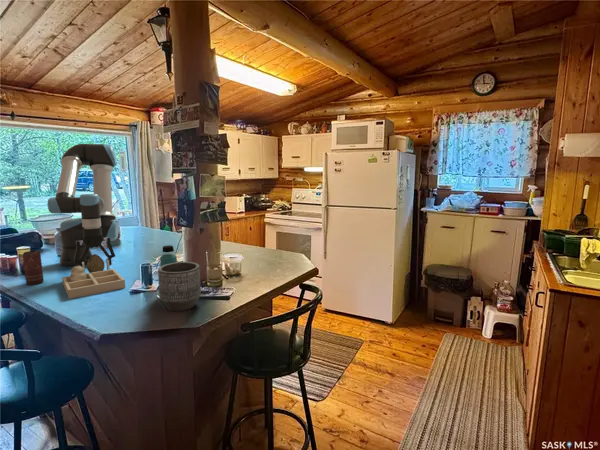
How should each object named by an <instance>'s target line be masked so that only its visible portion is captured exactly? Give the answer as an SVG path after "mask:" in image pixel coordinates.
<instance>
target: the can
mask: <svg viewBox="0 0 600 450" xmlns="http://www.w3.org/2000/svg"><path fill="white" fill-rule="evenodd" d="M22 260H23V269H24V275H25V276H24V277H25V283H26V285H28V286H37V285H41V284H43V283H44V274H43V273H44V271H43V264H42V263H43V262H42V255H41V251H40V250H30V251H24V252H23V253H22Z"/></svg>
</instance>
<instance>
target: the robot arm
mask: <svg viewBox="0 0 600 450" xmlns="http://www.w3.org/2000/svg"><path fill="white" fill-rule="evenodd" d="M60 160H61V161H60V164H61V170H60V171H61V172H60V175H59V179H58V180H59V181H58V183H57V189H56V192H55V197H49V198H48V199H47V209H48V212H49V213H50V214H53V215H55V214H59V215H61V214H80V215H81V217H78V218H72V219H68V220H63V221H62V222H61V223H60V226H59V228H60V229H59V232H60V238H61V249H62V250H61V255H60V259H59V265H60V266H63V267H75V266H81V267H83V268H84V272H85V273H86V268H85V266H86V265H87V262H88V260H89V258H90V257H91V256H92V255H93V253H92V251H91V248H92V249H94V248H100V250H101V251H102V252H103V254H104V255H105V256H106V257H107V258H105V263H106V264H105V265H106V270H111V268H110V267H111V266H112V265H113V262H112V259H113V258H115V257H116V254H115V251H114V249H113V248H114V247H112V244H111V242H112V241H114V242H115V241H116V240H117V239H118V237H119V231H120V220H119V219H118V218H116V217H117V216H116V215H115V214H114V213H113V200H112V199H113V198H112V197H113V196H112V191H113V190H112V171H113V170H114V169H115V168H114V167H115V166H118V165H117V157H116V153H115V149H114V147H113V146H112V145H111V144H106V143H101V144H100V143H78V144H74V145H72V146H71V147H69V148H68V149H67V150H66V151H65V152H64V153H63V155H62V157H61V159H60ZM83 166H89V169H90V170H91V171H92V180H93V181H92V183H93V186H92V187H93V193H83V194H82V193H81V194H80V195H79V196H76V192H77V186H78V185H77V184H78V181H79V174H80V171H81V169H82V168H83ZM103 242H104V243H106V246H107V248H108V249H109V253H110V254H109V253H108V251H107V250H106V248H105V247H104V246H103V244H102V243H103Z"/></svg>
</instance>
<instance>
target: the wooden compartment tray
mask: <svg viewBox="0 0 600 450" xmlns="http://www.w3.org/2000/svg"><path fill="white" fill-rule="evenodd" d="M85 273H86V272H85ZM86 276H87V277H86V280H80V281H74V282H71V280H70V275H68V276H62V286H63V288H64V291H65V293H66V294H67V297H68V299H69V300H70V299H75V298H81V297H85V296H90V295H95V294H100V293H105V292H110V291H115V290H120V289H125V288H126V279H125V278H123V276H122V275H121V274H119V273H118V271H117V270H116V269H114V268H112V269H111V268H110V270H107V269H104V270H103V271H99V272H92V273H89V272H87V273H86Z"/></svg>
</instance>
